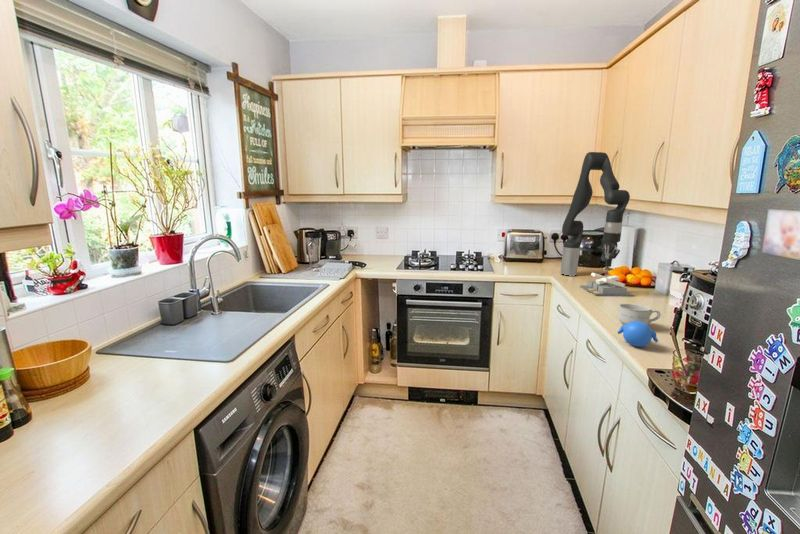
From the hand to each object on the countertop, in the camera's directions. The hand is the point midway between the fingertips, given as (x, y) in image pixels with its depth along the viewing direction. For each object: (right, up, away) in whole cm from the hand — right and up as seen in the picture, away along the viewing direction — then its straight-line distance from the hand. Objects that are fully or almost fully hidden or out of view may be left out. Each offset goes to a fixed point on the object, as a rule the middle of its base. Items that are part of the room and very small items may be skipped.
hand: (608, 266), depth 193 cm
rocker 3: (+4, -8, +2) cm, 9 cm away
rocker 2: (+3, -7, +7) cm, 11 cm away
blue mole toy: (-22, -27, -59) cm, 69 cm away
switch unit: (+3, -13, +9) cm, 16 cm away
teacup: (-11, -24, -42) cm, 50 cm away
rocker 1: (+3, -6, +13) cm, 14 cm away
